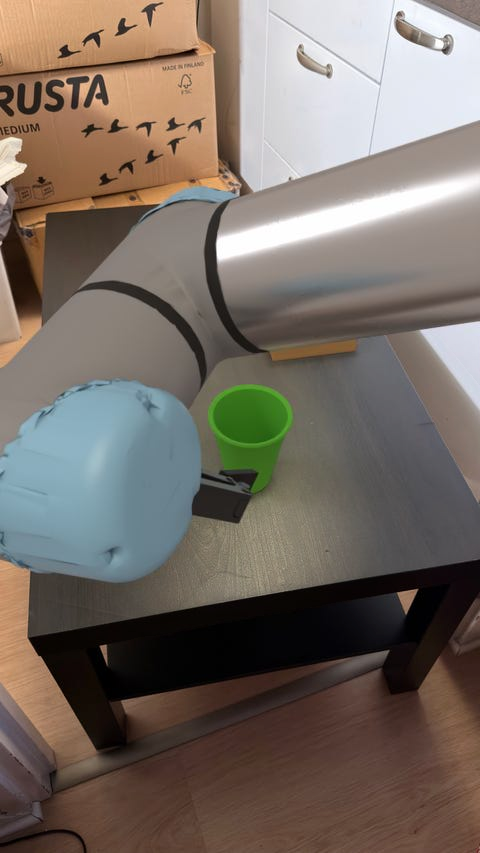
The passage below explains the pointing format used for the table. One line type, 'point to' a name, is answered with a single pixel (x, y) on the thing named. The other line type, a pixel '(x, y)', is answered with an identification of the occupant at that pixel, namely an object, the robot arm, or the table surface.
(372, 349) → the table surface
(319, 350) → the square wooden tray
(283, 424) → the cup
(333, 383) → the table surface
